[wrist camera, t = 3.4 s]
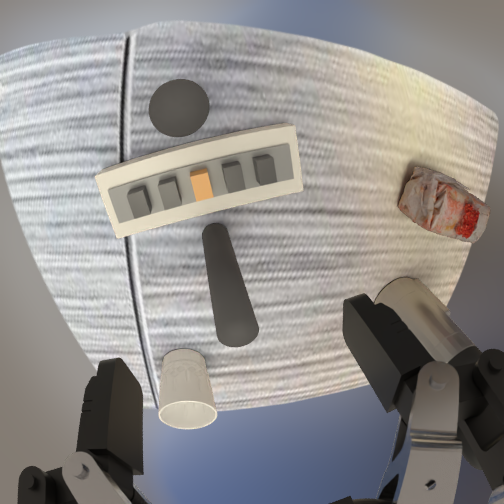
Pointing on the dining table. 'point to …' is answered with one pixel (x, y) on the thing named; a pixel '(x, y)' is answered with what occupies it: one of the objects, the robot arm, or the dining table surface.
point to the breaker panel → (194, 156)
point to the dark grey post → (179, 108)
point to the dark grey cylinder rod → (227, 290)
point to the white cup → (185, 391)
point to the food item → (443, 206)
